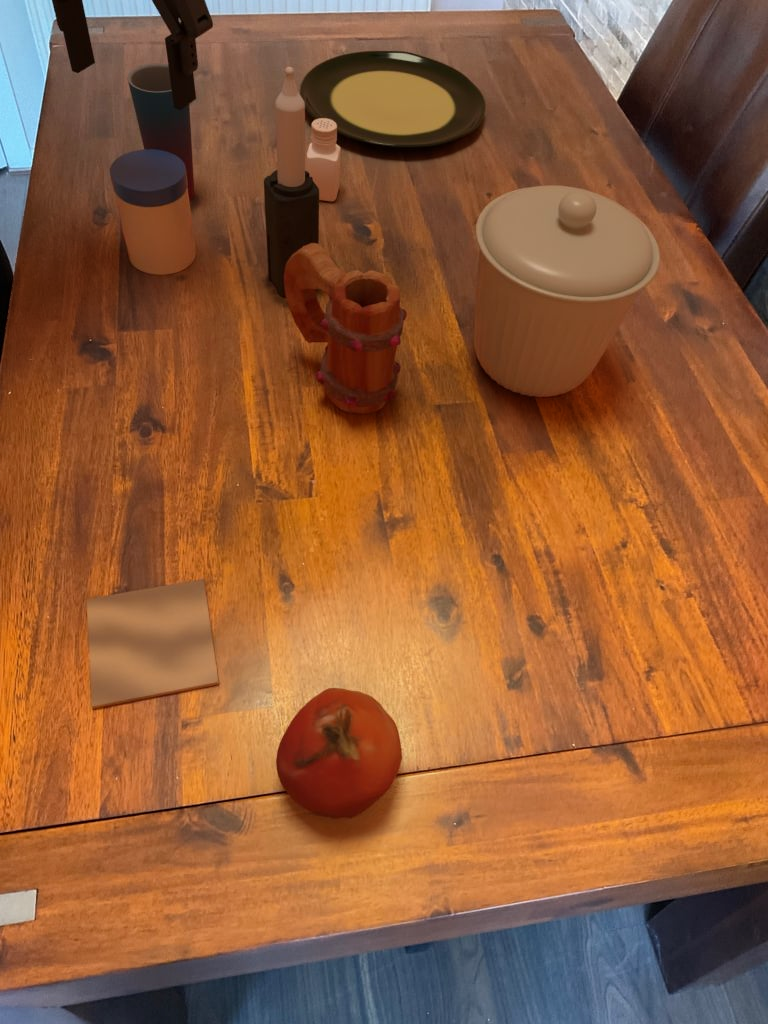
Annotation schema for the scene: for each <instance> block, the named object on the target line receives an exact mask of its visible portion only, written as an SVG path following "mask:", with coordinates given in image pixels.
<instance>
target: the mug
mask: <svg viewBox="0 0 768 1024" xmlns="http://www.w3.org/2000/svg"><path fill="white" fill-rule="evenodd" d="M284 286H285V294H286V297H285V299H286V302H287V305H288V310H289V312H290V314H291V317H292V319H293V321H294V323H295V325H296V327H297V329H298V330H299V333H300V334H301V336H302V337H303V338H304V341H306V342H307V343H309V344H311V343H327V345H326V346H325V348H324V353H323V355H322V358H321V363H320V370H318V371H317V372H316V374H315V381H316V382H317V383H319V384H321V385H323V388H324V392H325V394H326V395H327V397H328V398H329V399H330V401H331V402H332V404H333V405H335V406H336V407H337V408H338V409H340V410H341V411H343V412H345V413H352V414H371V413H374V412H377V411H379V410H381V409H383V407H384V406H385V405H386V404H387V403H388V402H392V401H394V399H395V398H396V393H395V392H394V391H395V389H396V387H397V382H398V378H399V377H398V376H399V373H400V372H401V369H402V366H401V365H400V363H399V362H397V361H395V360H396V353H397V349H398V346H400V344H401V343H402V341H401V340H402V339H401V337H402V335H403V330H404V329H403V328H404V322H405V320H406V318H407V316H408V314H407V313H408V312H407V310H405V309H404V308H402V307H401V306H400V305H401V291H400V288H399V286H398V285H397V284H393V283H392V279H391V278H390V277H389V276H388V275H386V274H385V273H382V272H379V271H376V270H373V269H372V270H371V269H369V270H368V271H366V272H362V271H360V270H359V269H355V270H351V271H348V272H344V271H342V270H341V269H339V267H338V266H336V264H335V263H334V261H333V260H332V258H331V257H330V255H329V253H328V252H327V251H326V250H325V248H324V247H323V246H322V245H320V244H317V243H310V244H308V245H306V246H303V247H302V248H301V249H299V250H298V251H297V252H295V253H294V254H293V255H292V256H291V257H290V259H289V260H288V262H287V264H286V266H285V273H284ZM317 290H321V291H322V292H323V293H324V294H326V295H327V296H328V302H327V303H326V305H325V312H324V310H323V309H322V307H321V303H320V301H319V299H318V297H317Z"/></svg>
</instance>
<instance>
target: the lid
mask: <svg viewBox="0 0 768 1024" xmlns="http://www.w3.org/2000/svg"><path fill="white" fill-rule="evenodd" d="M109 175H110V180H111V185H112V190H113V193H114V194H115V193H116V195H117V196H118V197H119V198H121V199H122V200H124V201H126V202H128V203H131V204H135V205H140V206H158V205H164V204H167V203H170V202H172V201H175V200H177V199H178V198H180V197H181V196H182V195H183V194H184V193H185V191H186V189H187V186H188V181H187V174H186V167H185V164H184V162H183V161H182V160H181V159H180V158H179V157H177V156H176V155H174V154H172V153H169V152H166V151H162V150H155V149H144V148H143V149H136V150H132V151H129V152H126V153H124V154H122V155H120V156H118V157H117V158H116V159H115V160H114V161H113V162H112V163H111V165H110V167H109ZM116 195H115V196H116Z"/></svg>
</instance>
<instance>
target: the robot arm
mask: <svg viewBox="0 0 768 1024" xmlns="http://www.w3.org/2000/svg"><path fill="white" fill-rule="evenodd" d="M151 2H152V3H153V5H154V7H155V8H156V10H157V12H158V14H159V16H160V17H161V19H162V21H163V22H164V24H165V26H166V27H167V29H168V31H169V33H170V34H169V35H167V36H165V38H164V43H165V51H166V58H167V64H168V66H169V74H170V81H171V89H172V96H173V104H174V108H175V109H178V110H181V109H183V108H184V107H186V106H187V105H188V104H189V105H190V104H191V103H192V102H193V103H194V101H196V100H197V93H196V85H195V75H194V73H195V71H197V70H198V67H199V60H198V51H197V41H196V39H197V38H199V37H201V36H202V35H204V34H205V33H207V32H208V31H210V30H211V29H213V27H214V22H213V18H212V16H211V13H210V11H209V8H208V5H207V2H206V0H151ZM51 3H52V7H53V12H54V16H55V18H56V19H55V20H56V25H57V27H58V29H59V31H60V32H62V34H63V38H64V42H65V43H64V44H65V46H66V52H67V55H68V59H69V60H68V61H69V65H70V68H71V72H73V73H76V74H79V73H81V72H83V71H84V70H86V69H88V68H89V67H91V66H92V65H94V64H96V61H95V56H94V49H93V46H92V42H91V41H92V40H91V37H90V32H89V26H88V21H87V16H86V12H85V7H84V2H83V0H51Z"/></svg>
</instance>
